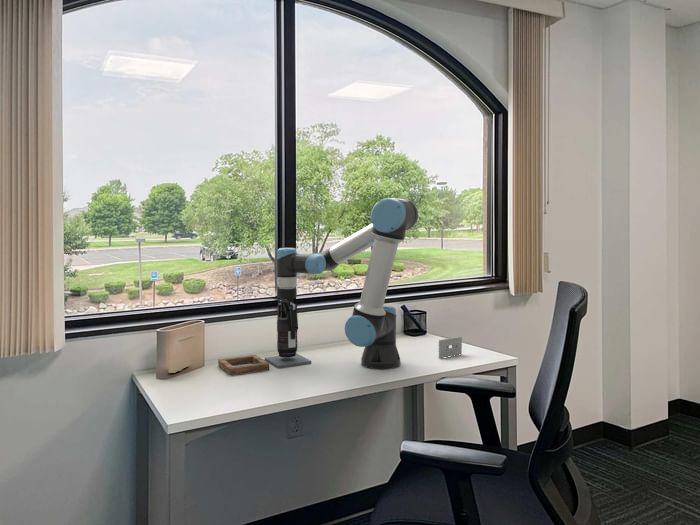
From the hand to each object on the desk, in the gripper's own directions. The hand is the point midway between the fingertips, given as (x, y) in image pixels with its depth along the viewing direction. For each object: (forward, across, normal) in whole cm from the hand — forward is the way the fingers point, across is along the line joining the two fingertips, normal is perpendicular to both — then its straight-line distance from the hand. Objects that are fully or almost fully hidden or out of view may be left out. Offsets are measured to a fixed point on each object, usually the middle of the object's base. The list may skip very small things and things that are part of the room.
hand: (287, 344), depth 219 cm
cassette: (+7, +25, +61) cm, 66 cm away
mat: (+7, 0, 0) cm, 7 cm away
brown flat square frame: (+7, 0, -18) cm, 19 cm away
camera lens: (+4, 0, 0) cm, 4 cm away
